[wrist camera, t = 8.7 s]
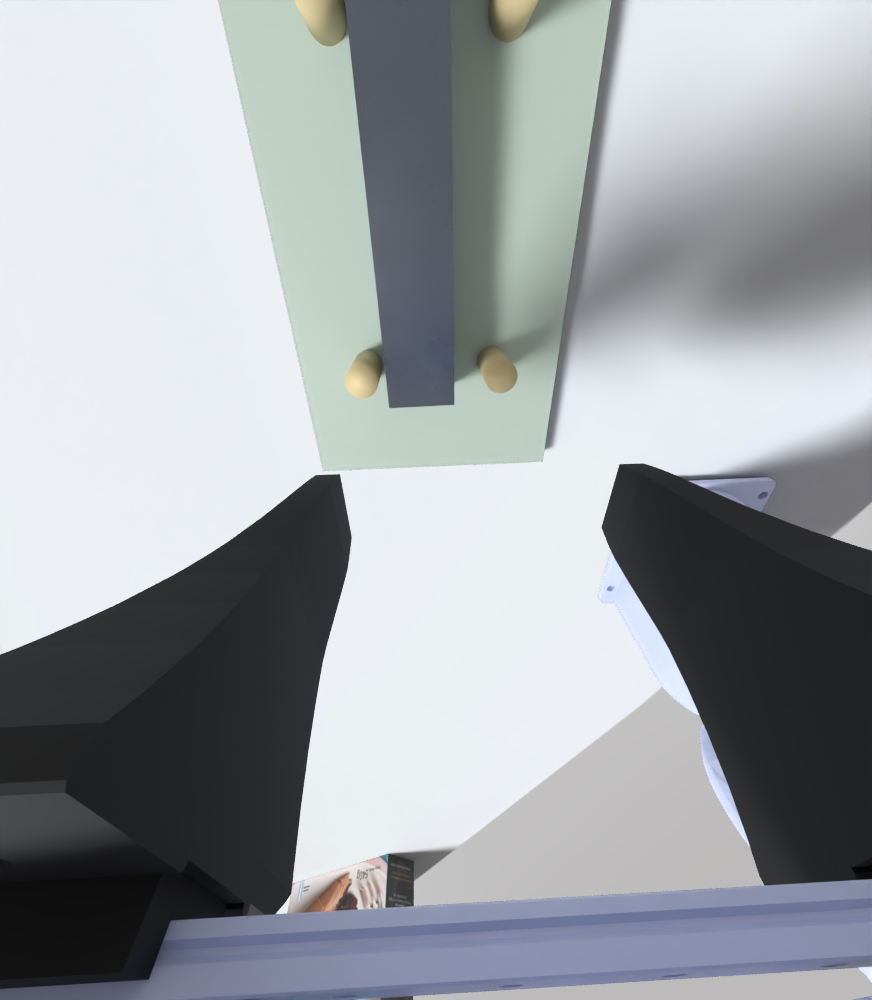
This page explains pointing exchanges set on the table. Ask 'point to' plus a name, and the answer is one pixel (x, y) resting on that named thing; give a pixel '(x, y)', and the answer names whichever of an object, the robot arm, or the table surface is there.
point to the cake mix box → (358, 890)
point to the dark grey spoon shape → (408, 187)
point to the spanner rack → (476, 218)
